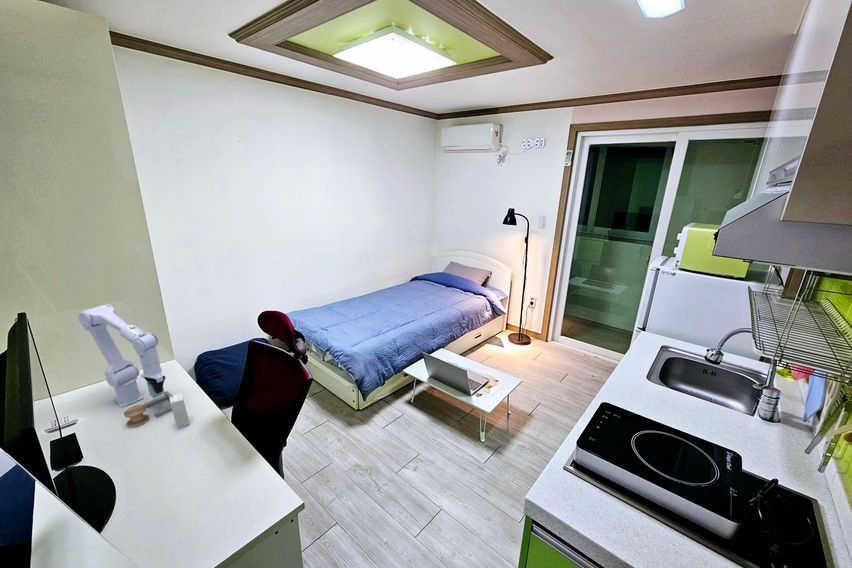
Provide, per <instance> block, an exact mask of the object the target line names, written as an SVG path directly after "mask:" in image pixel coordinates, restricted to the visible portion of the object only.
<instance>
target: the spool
mask: <svg viewBox="0 0 852 568" xmlns="http://www.w3.org/2000/svg"><path fill="white" fill-rule="evenodd" d="M147 409H148V408H146V405H145V404H136V405H133V406H131V407H129V408H127V409H126V410H125V411H124V412H123V415H124V417H125V418H129V419H128V420H127V422H126V426H127V428H137V427H140V426H143V425H144V424H146V423H148V421H149V420H150V417H149V415H148V414H144V413H145V412H146V411H147Z"/></svg>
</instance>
